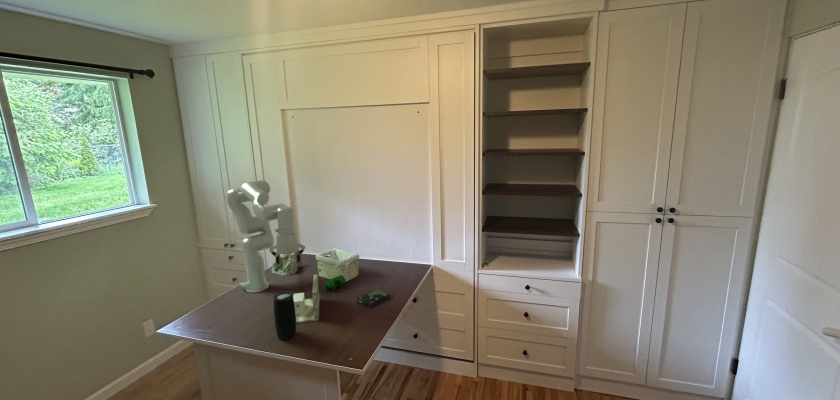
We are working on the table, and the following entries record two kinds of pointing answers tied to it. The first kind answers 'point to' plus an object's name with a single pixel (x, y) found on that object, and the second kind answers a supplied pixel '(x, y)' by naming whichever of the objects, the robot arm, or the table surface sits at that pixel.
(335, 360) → the table surface
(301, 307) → the mini cabinet
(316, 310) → the curved railed panel
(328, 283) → the clamp
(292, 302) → the portable speaker
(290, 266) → the ceramic cottage
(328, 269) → the storage basket
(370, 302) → the disk drive
